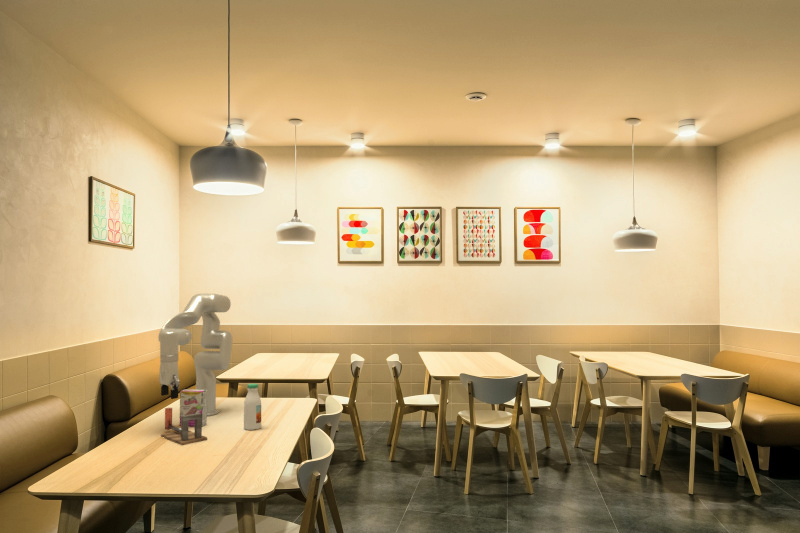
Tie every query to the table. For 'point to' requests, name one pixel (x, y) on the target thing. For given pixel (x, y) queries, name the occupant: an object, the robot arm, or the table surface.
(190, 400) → the candy bar box
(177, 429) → the lever
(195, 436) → the eye stand
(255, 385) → the milk bottle
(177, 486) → the table surface
